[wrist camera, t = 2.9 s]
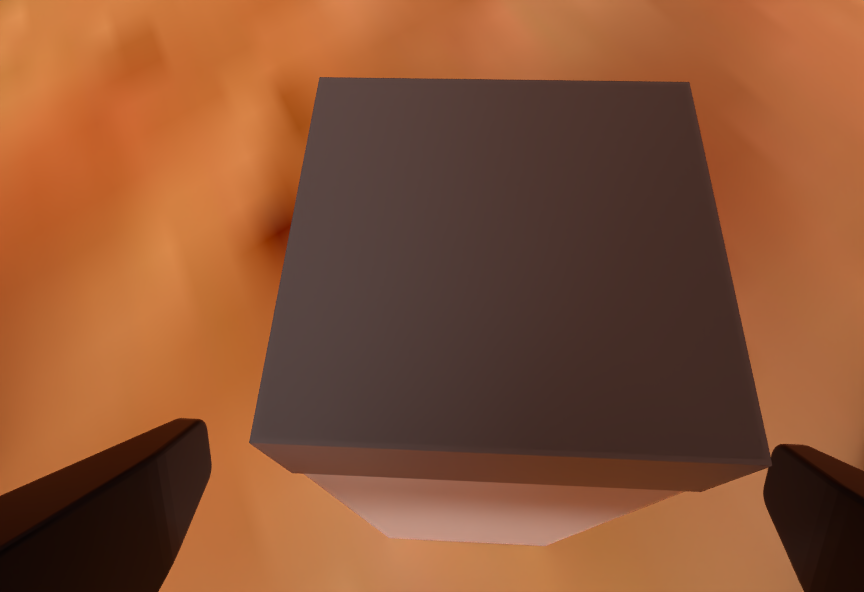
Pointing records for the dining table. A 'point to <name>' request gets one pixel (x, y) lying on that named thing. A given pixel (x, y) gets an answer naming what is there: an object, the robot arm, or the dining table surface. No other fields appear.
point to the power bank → (506, 309)
